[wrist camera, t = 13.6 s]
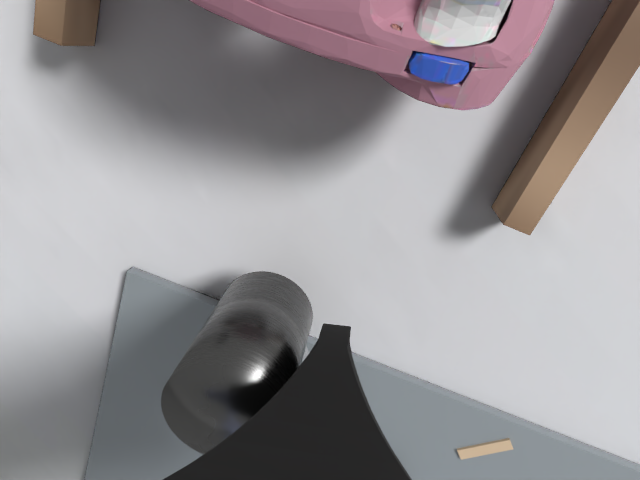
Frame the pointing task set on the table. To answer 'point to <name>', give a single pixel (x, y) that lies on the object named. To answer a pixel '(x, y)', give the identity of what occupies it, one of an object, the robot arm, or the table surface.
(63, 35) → the bay
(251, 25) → the video game controller
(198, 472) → the robot arm
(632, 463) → the plate
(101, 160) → the table surface
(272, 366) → the crank
